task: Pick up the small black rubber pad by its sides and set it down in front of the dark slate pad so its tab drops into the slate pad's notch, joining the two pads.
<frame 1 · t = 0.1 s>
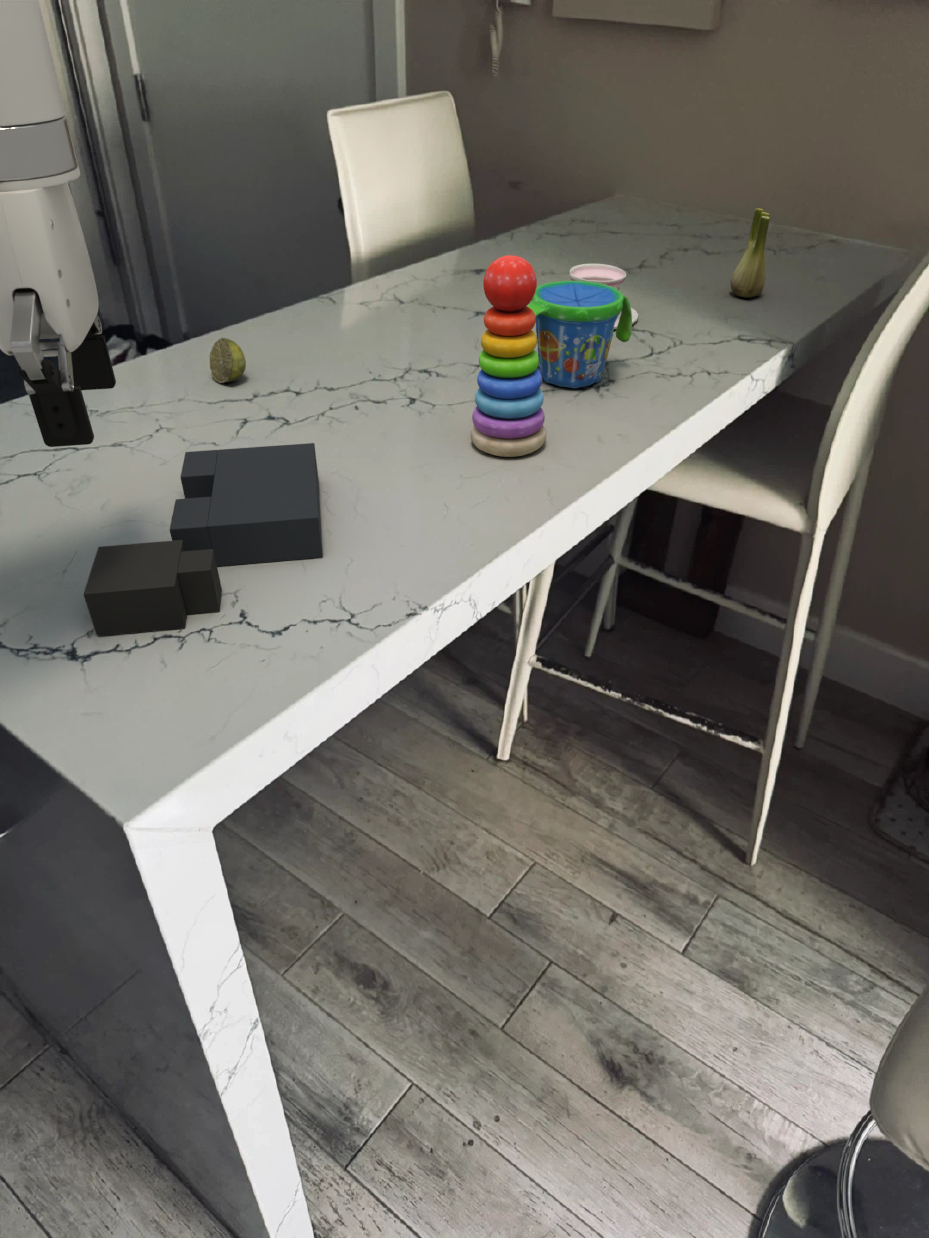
hand: (83, 414, 64), 14 cm above the counter, tool pointing down, fingers open, 9 cm apart
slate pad: (254, 521, 79), on the counter
stacking toy: (508, 444, 92), on the counter
snack cup: (570, 380, 106), on the counter
teacup: (595, 319, 124), on the counter
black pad: (146, 607, 69), on the counter
fennel bulb: (744, 297, 132), on the counter
lime: (229, 381, 106), on the counter
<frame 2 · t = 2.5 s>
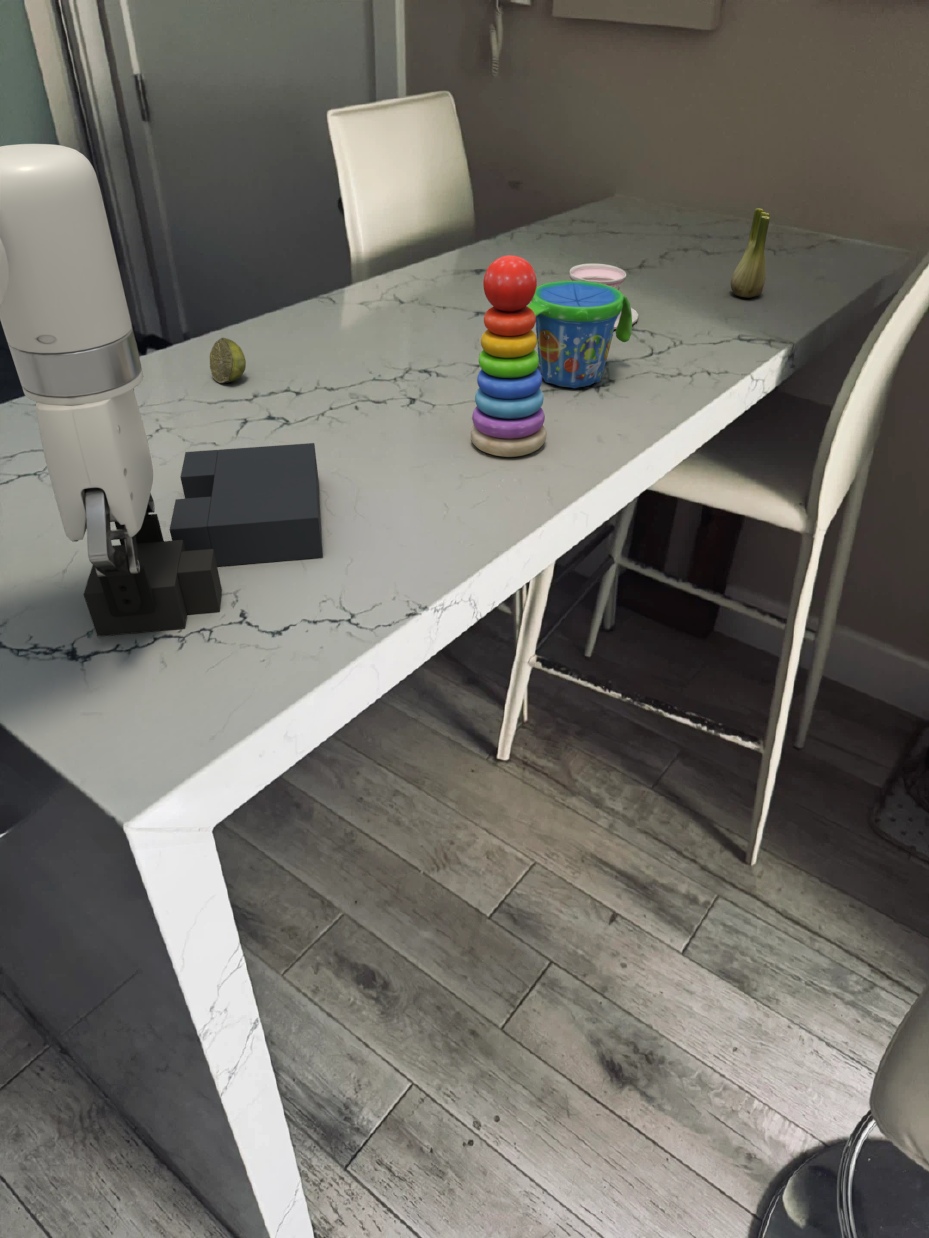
hand: (140, 583, 68), 2 cm above the counter, tool pointing down, fingers closed on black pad, 6 cm apart
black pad: (146, 607, 69), on the counter, touching gripper
everything else where it was.
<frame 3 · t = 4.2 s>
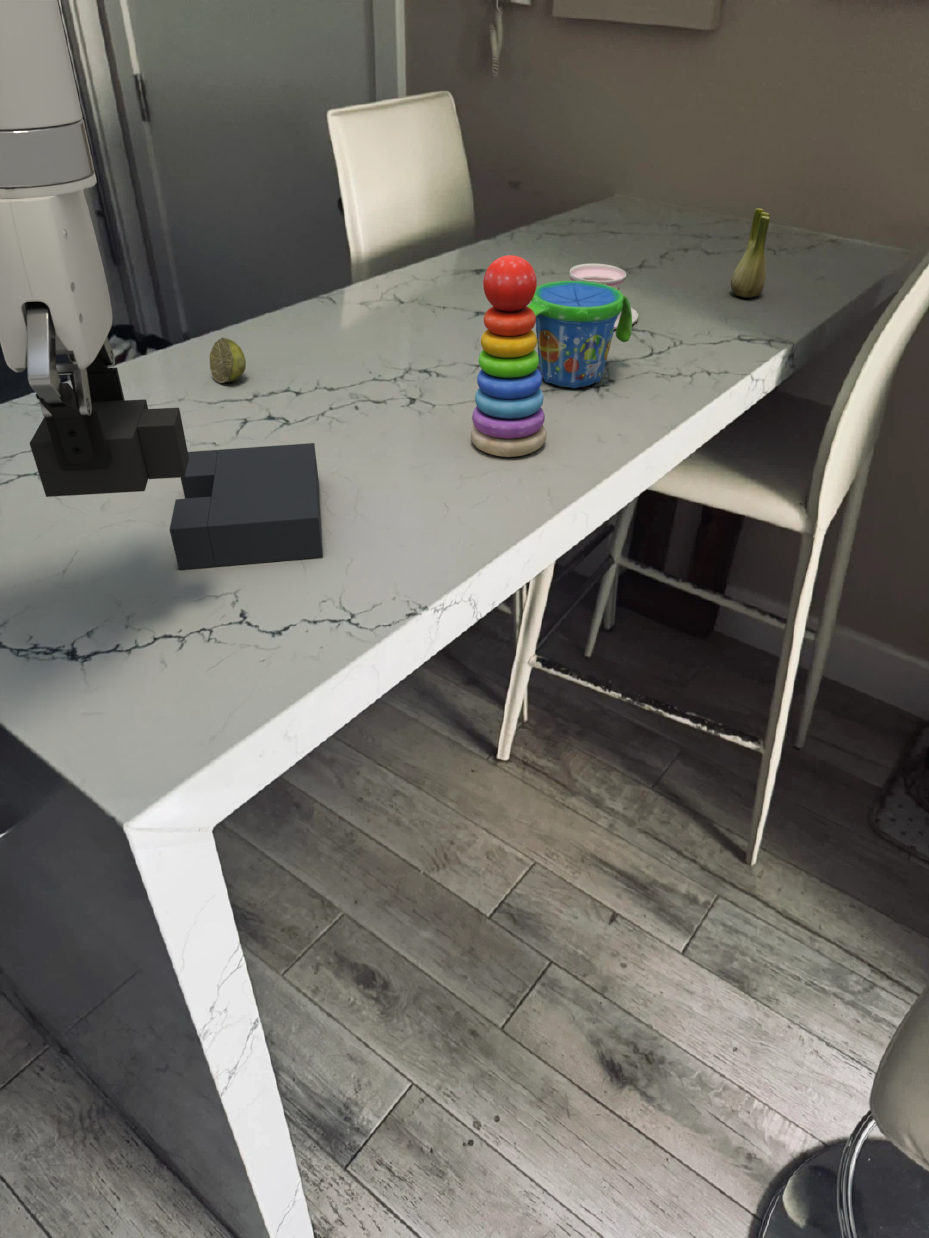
hand: (96, 442, 61), 14 cm above the counter, tool pointing down, fingers closed on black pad, 6 cm apart
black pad: (104, 472, 62), point 12 cm above the counter, touching gripper
everything else where it was.
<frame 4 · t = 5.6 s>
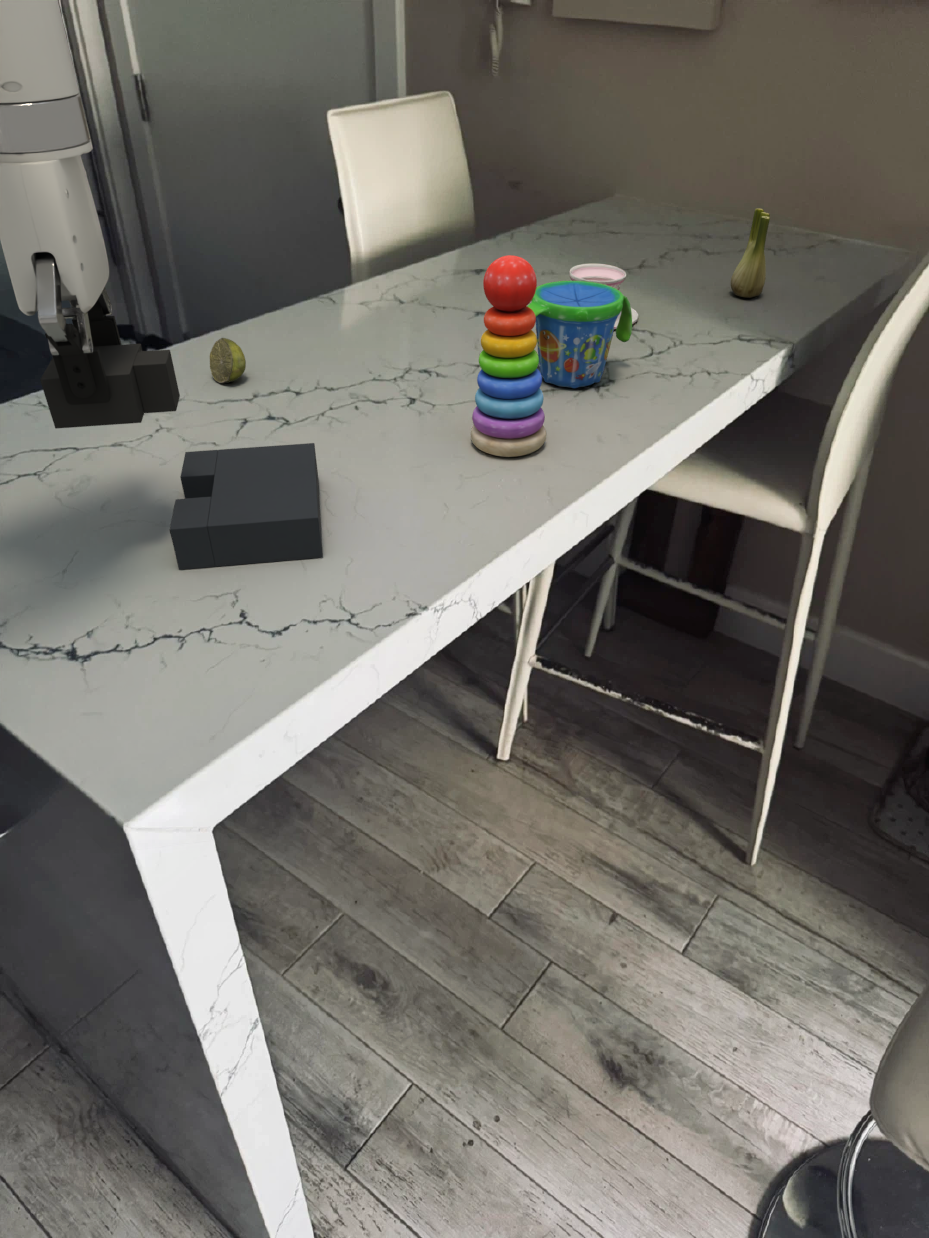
hand: (97, 381, 69), 14 cm above the counter, tool pointing down, fingers closed on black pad, 6 cm apart
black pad: (105, 408, 71), point 12 cm above the counter, touching gripper
everything else where it was.
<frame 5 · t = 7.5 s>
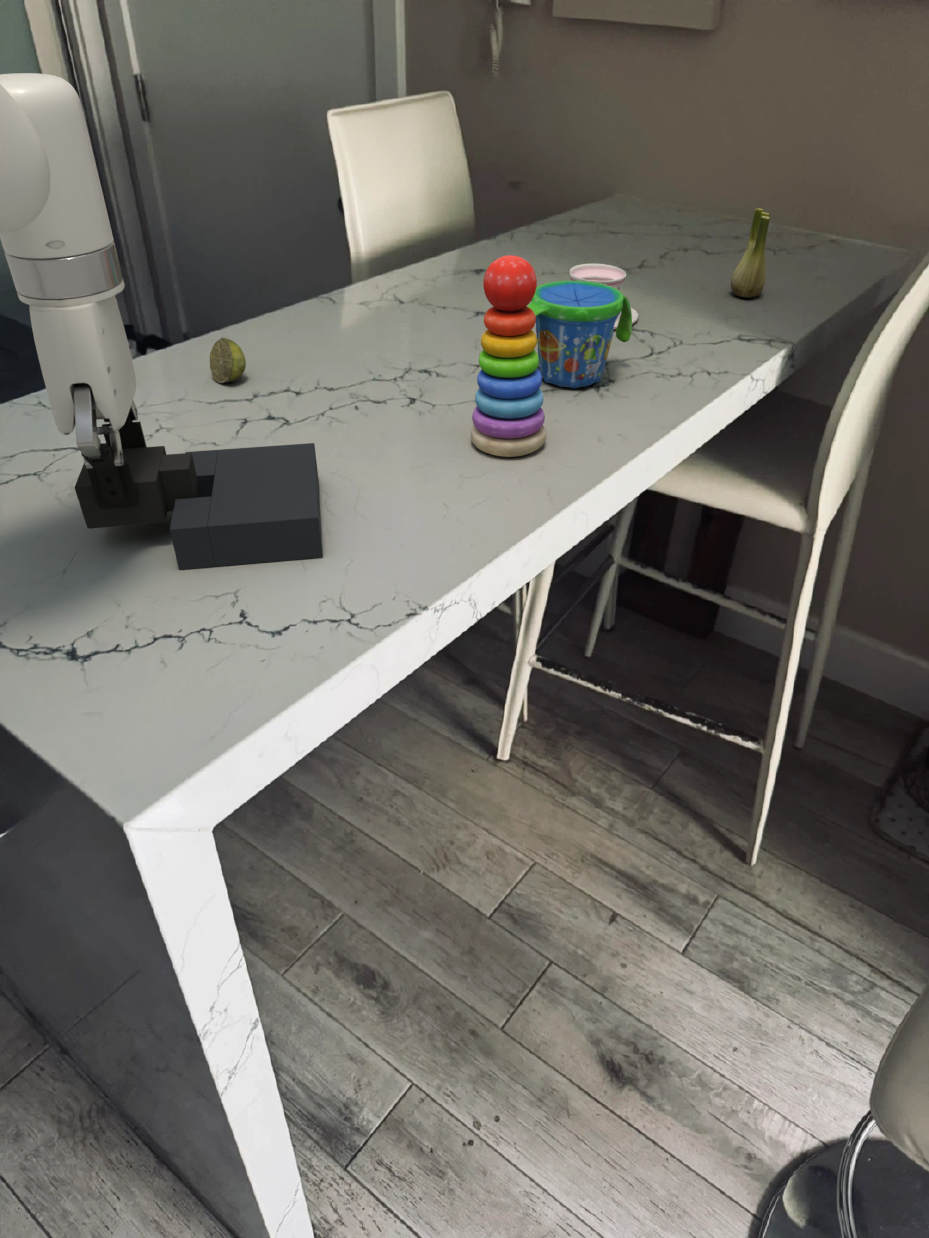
hand: (125, 483, 75), 5 cm above the counter, tool pointing down, fingers closed on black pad, 6 cm apart
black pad: (132, 506, 77), point 2 cm above the counter, touching gripper
everything else where it was.
when the fingers open (2 cm above the counter, at t = 8.7 s): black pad stays where it is, on the counter.
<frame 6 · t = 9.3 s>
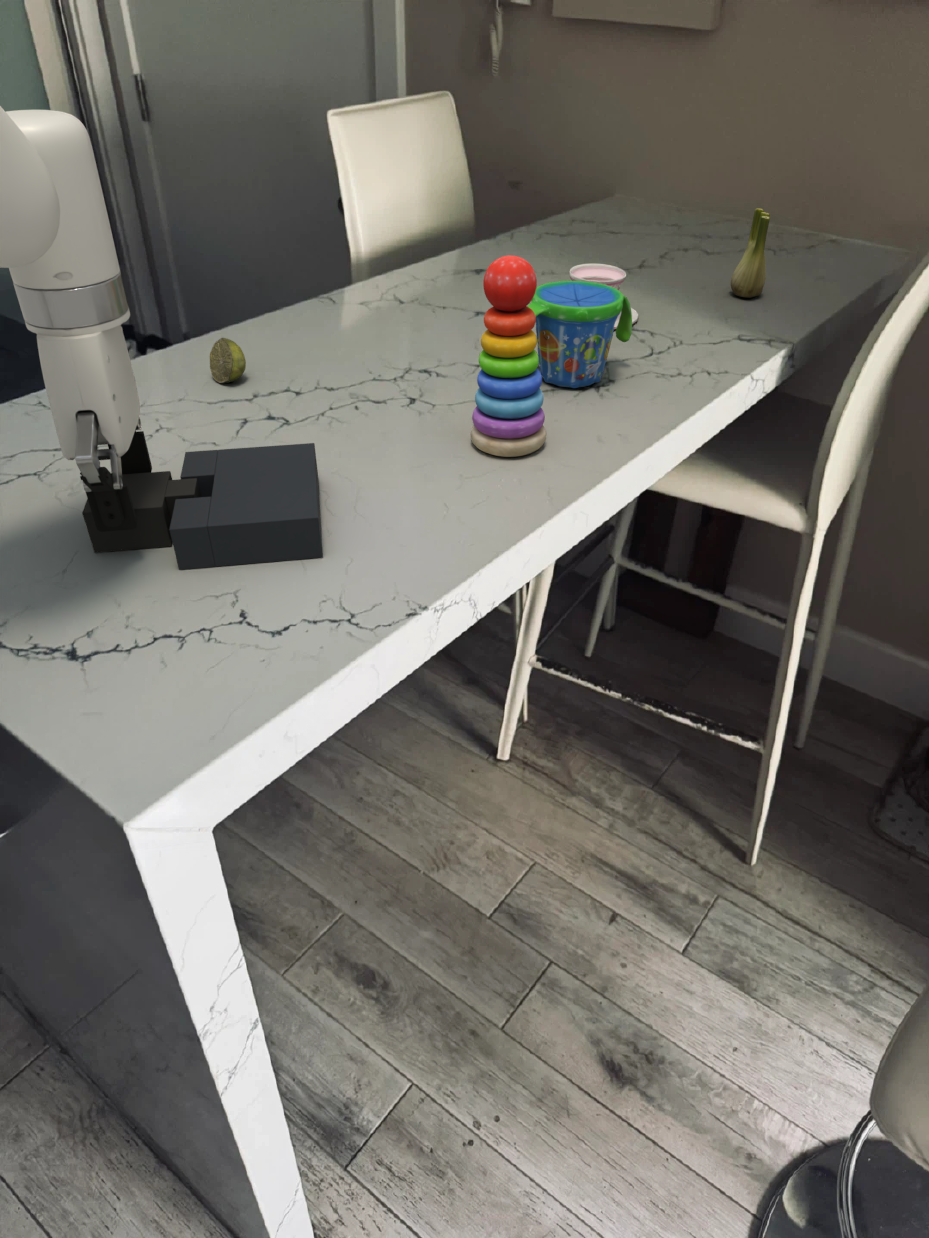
hand: (126, 500, 76), 3 cm above the counter, tool pointing down, fingers open, 9 cm apart
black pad: (138, 530, 78), on the counter
everything else where it was.
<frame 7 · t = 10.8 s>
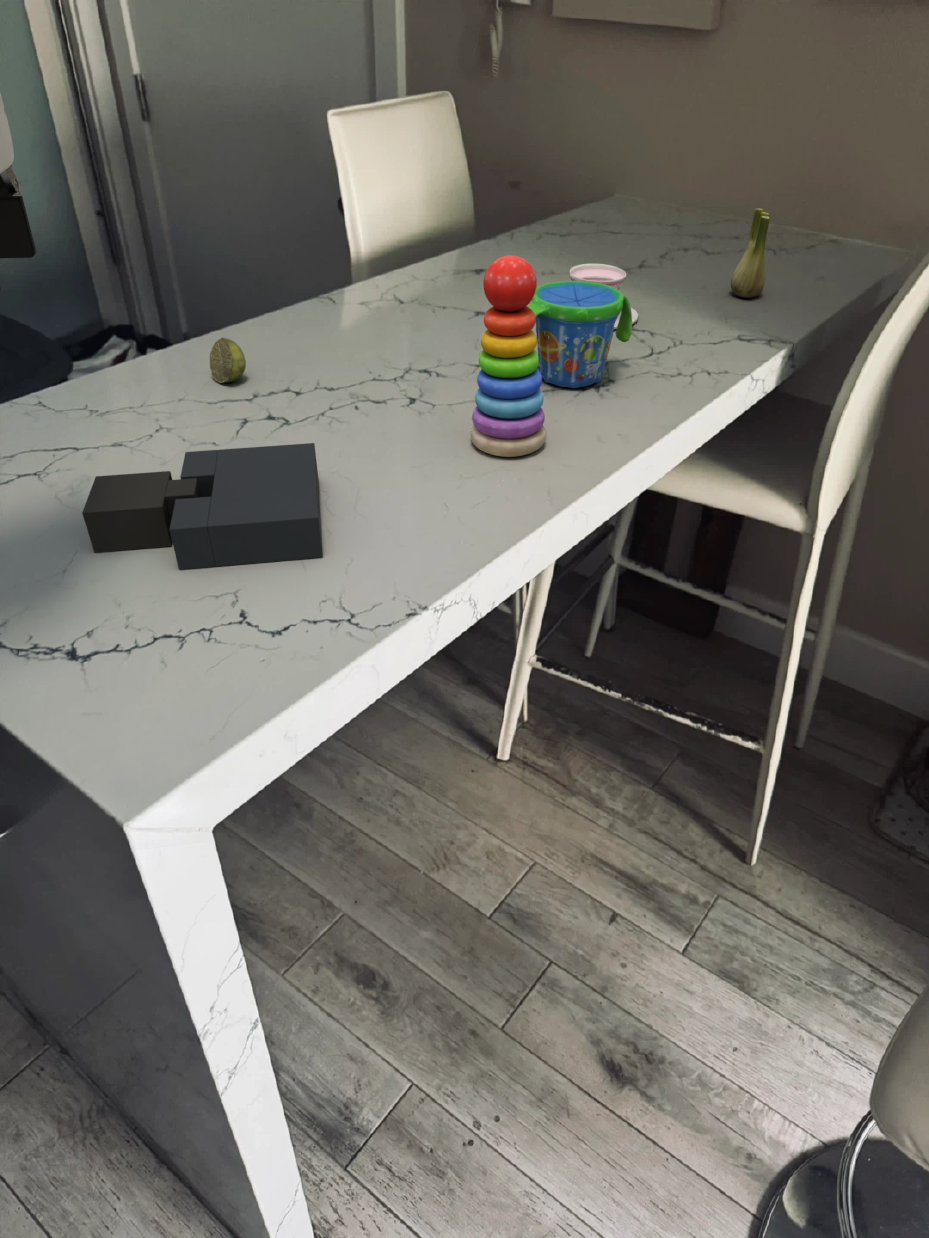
nothing on the counter moved.
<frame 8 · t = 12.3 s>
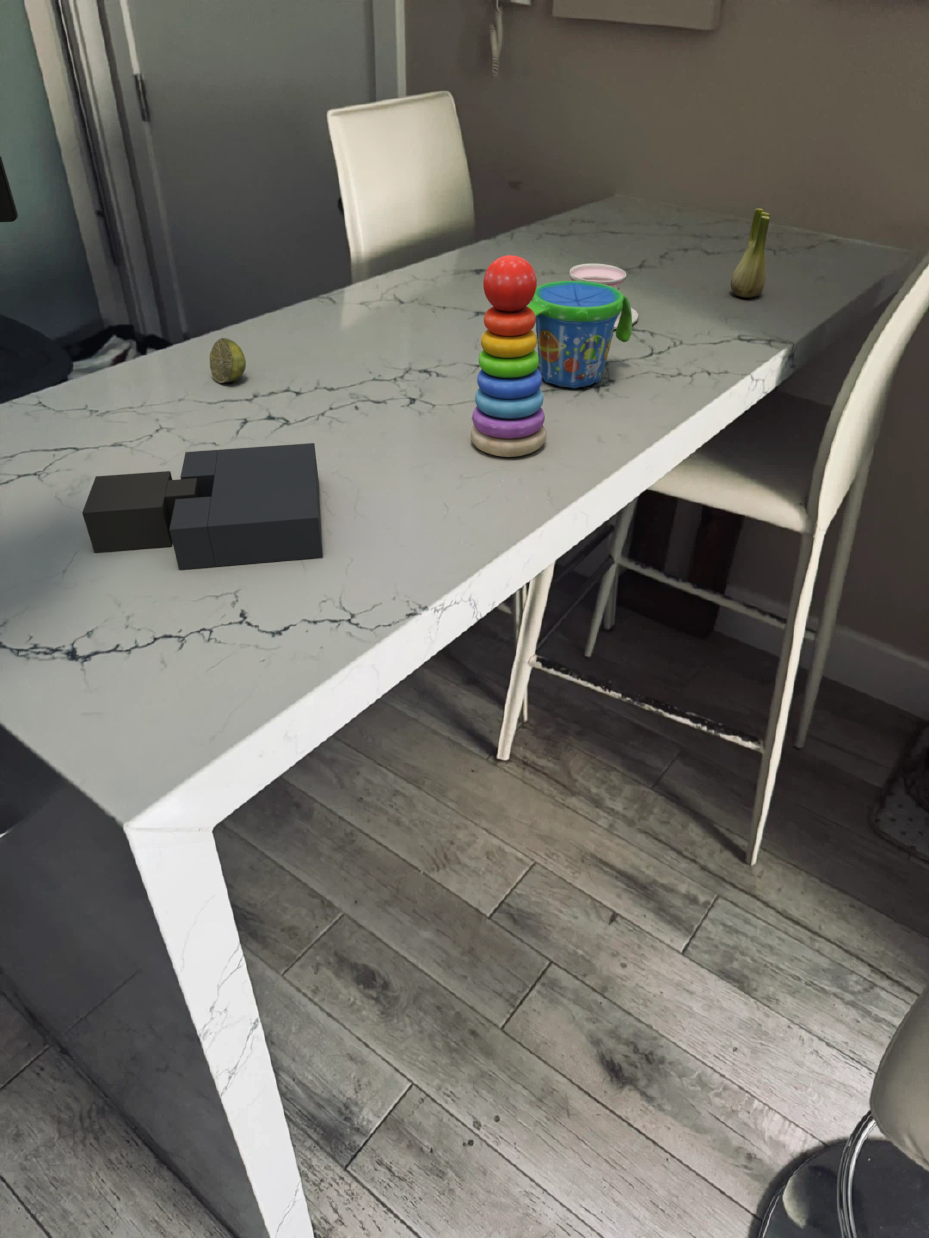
nothing on the counter moved.
at the end: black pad 0.2 cm from the target spot on the counter beside the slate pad, on the counter; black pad tilted 0°; the gripper is holding nothing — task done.
